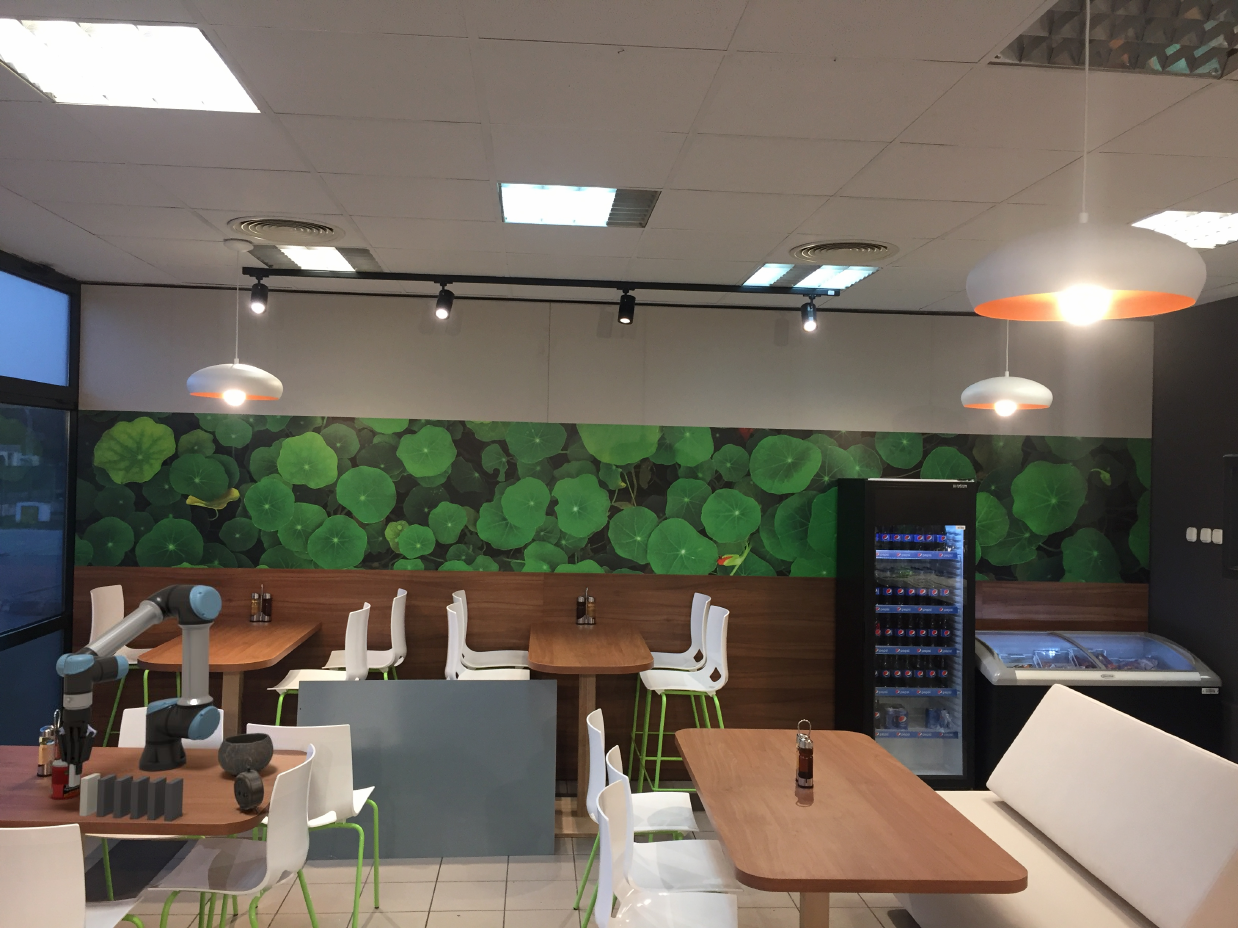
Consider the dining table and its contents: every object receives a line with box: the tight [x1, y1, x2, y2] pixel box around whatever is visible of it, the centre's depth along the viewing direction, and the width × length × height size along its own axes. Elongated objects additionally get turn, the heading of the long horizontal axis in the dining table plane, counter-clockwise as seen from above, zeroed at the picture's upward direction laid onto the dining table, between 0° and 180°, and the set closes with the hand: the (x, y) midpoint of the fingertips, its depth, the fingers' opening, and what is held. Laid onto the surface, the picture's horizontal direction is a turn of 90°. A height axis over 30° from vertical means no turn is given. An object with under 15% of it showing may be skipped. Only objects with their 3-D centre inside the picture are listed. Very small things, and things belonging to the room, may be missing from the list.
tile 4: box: [129, 775, 151, 820], centre depth 261 cm, size 2×5×11 cm, turn 172°
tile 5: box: [146, 776, 168, 821], centre depth 260 cm, size 2×5×11 cm, turn 172°
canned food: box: [50, 758, 81, 801], centre depth 278 cm, size 8×8×11 cm
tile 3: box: [112, 774, 134, 819], centre depth 262 cm, size 2×5×11 cm, turn 172°
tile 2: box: [96, 773, 118, 818], centre depth 263 cm, size 2×5×11 cm, turn 172°
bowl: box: [217, 732, 275, 777], centre depth 303 cm, size 18×18×13 cm
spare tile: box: [79, 773, 101, 817], centre depth 263 cm, size 2×5×11 cm, turn 172°
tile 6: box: [163, 777, 184, 822], centre depth 260 cm, size 2×5×11 cm, turn 172°
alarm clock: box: [233, 758, 265, 815], centre depth 266 cm, size 11×5×16 cm, turn 50°
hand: (74, 785), depth 264 cm, fingers closed
